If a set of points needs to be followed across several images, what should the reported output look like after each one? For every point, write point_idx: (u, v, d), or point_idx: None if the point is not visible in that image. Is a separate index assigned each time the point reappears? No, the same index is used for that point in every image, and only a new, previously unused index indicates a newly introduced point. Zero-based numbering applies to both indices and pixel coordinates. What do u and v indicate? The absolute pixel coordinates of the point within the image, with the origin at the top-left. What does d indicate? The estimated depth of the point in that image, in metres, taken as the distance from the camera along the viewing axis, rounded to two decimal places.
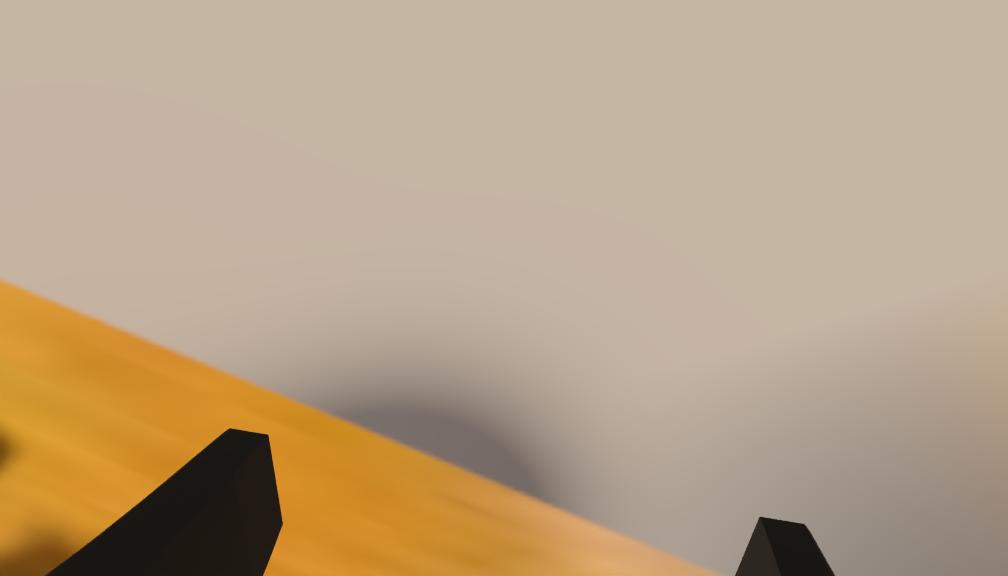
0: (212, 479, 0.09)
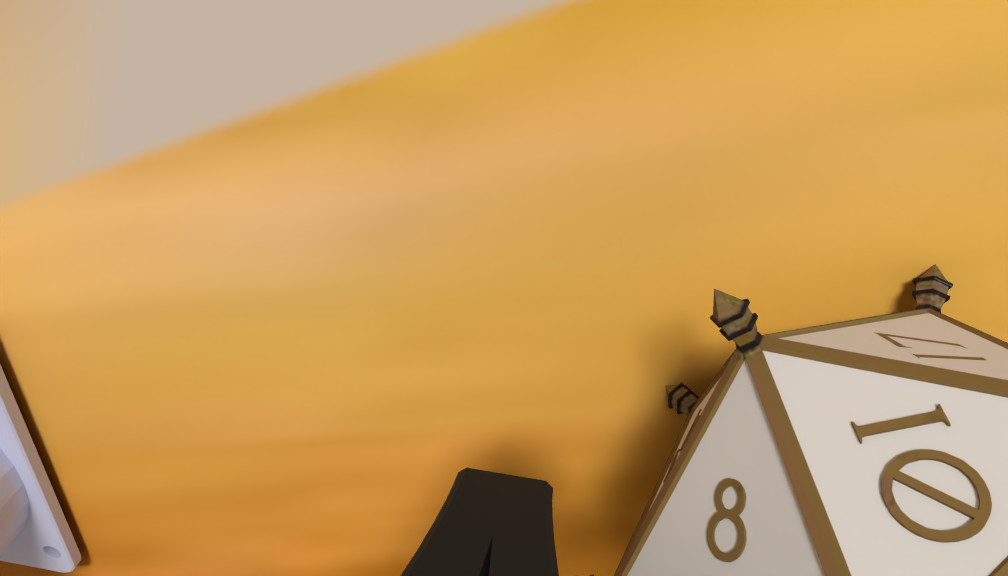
0: (479, 525, 0.09)
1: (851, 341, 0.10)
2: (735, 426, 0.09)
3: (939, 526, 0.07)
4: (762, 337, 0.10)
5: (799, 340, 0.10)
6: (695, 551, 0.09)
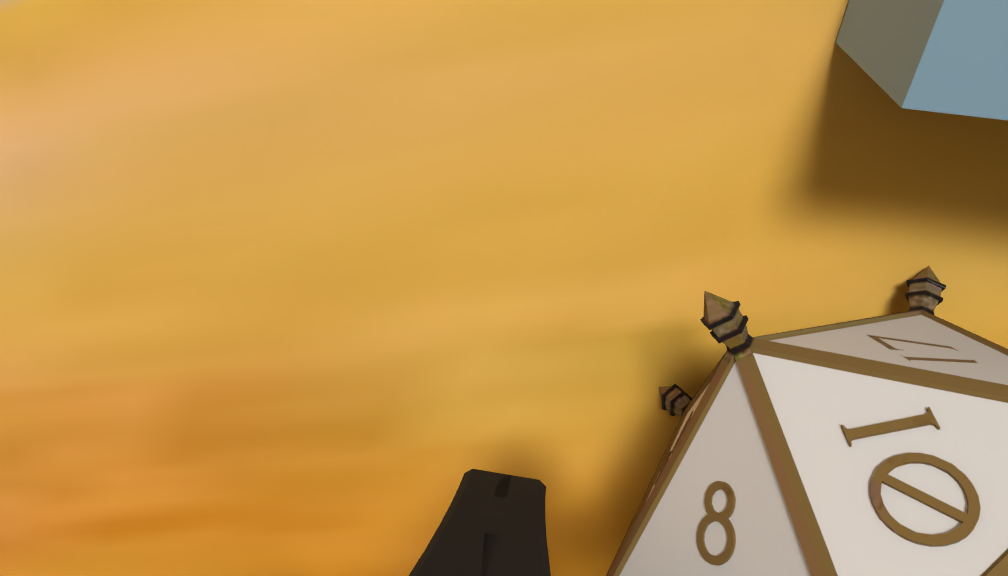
0: (486, 527, 0.09)
1: (842, 343, 0.10)
2: (725, 429, 0.09)
3: (928, 530, 0.07)
4: (753, 339, 0.09)
5: (790, 342, 0.10)
6: (685, 554, 0.09)
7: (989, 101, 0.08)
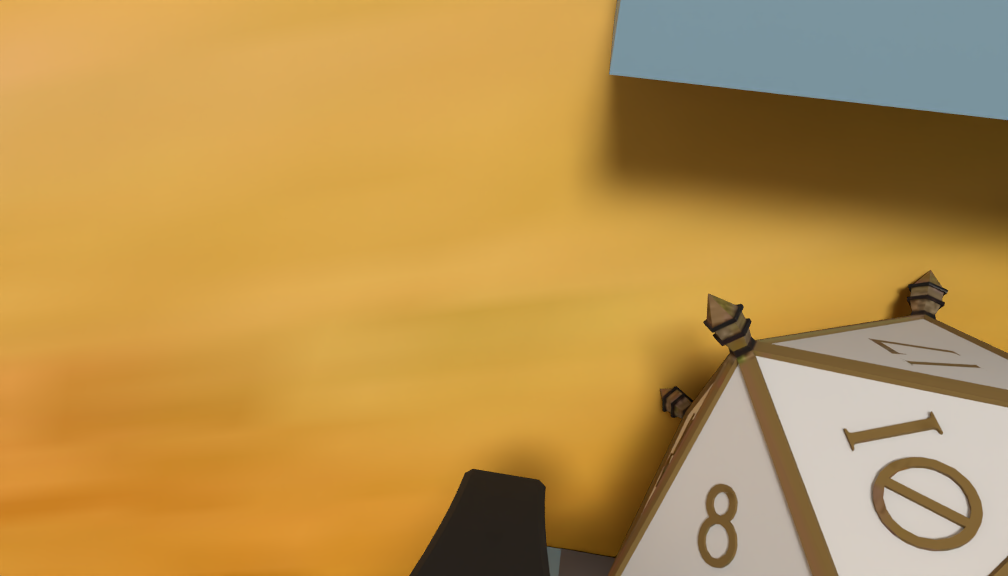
0: (486, 527, 0.09)
1: (845, 347, 0.10)
2: (728, 432, 0.09)
3: (928, 534, 0.07)
4: (755, 342, 0.09)
5: (792, 346, 0.10)
6: (685, 556, 0.09)
7: (687, 67, 0.08)
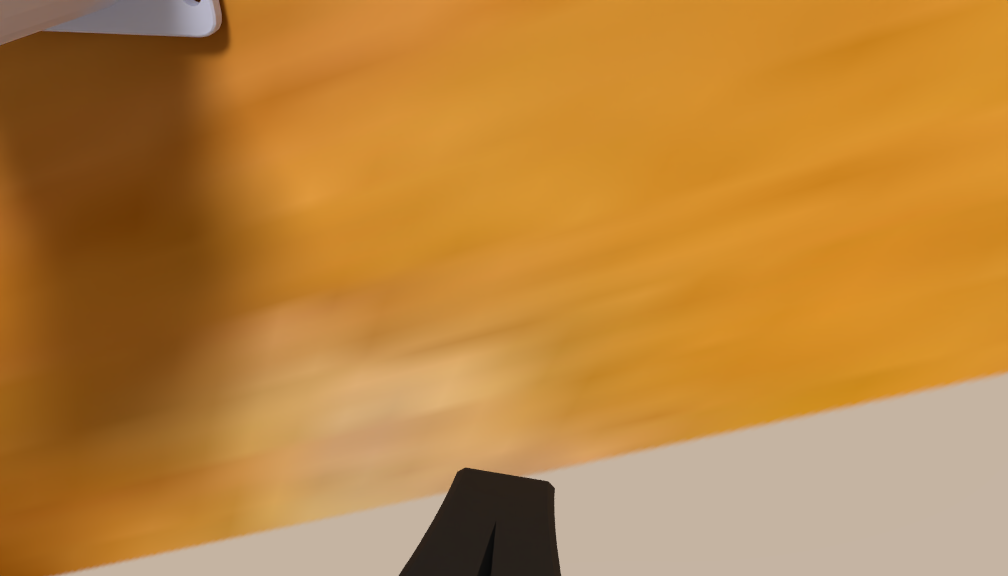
0: (477, 526, 0.09)
1: None
2: None
3: None
4: None
5: None
6: None
7: None
